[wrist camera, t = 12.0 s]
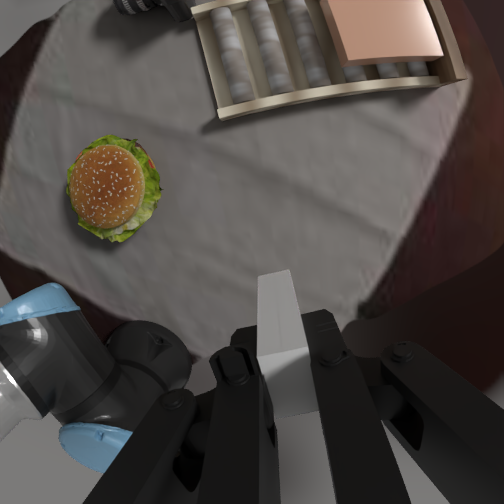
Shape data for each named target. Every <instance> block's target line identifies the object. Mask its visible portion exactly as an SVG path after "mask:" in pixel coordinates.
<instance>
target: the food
mask: <svg viewBox="0 0 504 504" xmlns="http://www.w3.org/2000/svg"><path fill="white" fill-rule="evenodd" d="M137 140H138V139H133V140H129V139H121V138H119V137H117V136H114V135H106V136H104V137H102V138H99V139H97V140H96V141H94V142H92V143H91V144H90V145H89V146H88V147H87V148H85V149H84V150H83V151H82V152H81V153H80V154H79V155H78V157H77V158H76V161H75V163H74V164H73V165H72V166H71V167H70V168H69V169H68V172H67V176H68V185H67V189H66V192H67V195H68V196H69V197H70V199H71V200H70V203H71V204H72V210H73V211H75V212H76V213H77V214H78V220H79V223H78V224H79V225H80V226H82V227H83V228H85V229H86V230H88V231H90V232H92V233H94V234H95V235H96V236H99V237H100V238H102V239H109V240H110V242H114V241H119V242H123V241H125V240H126V239H127V238H129V237H130V236H131V235H133V234H134V233H135V232H136V231H137V230H138V229H139V228H140V227H141V226H142V225H143V223H144V222H145V221H146V220H148V219H149V218H150V217H151V215H152V213H153V211H154V210H155V209H156V208H157V202H158V199H160V197H161V192H160V191H161V190H164V189H161V188H160V186H159V181H160V177H159V174H158V172H157V171H156V169H155V165H154V163H153V161H152V160H151V158H150V157H149V156H148V155H147V153H146V151H145V150H144V149H143V148H142V147H141V145H140V144H138V143H136V142H135V141H137Z"/></svg>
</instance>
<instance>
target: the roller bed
mask: <svg viewBox="0 0 504 504" xmlns="http://www.w3.org/2000/svg"><path fill="white" fill-rule="evenodd" d="M423 1H424V3H425V5H426V8H427V10H428V13H429V15H430V18H431V20H432V23H433V25H434V28H435V31H436V33H437V36H438V39H439V42H440V45H441V48H442V51H443V54H444V56H442V57H440V58H438V59H436V60H434V61H422V62H397V63H382V64H370V65H359V66H350V67H342V68H341V65H340V61H339V58H338V55H337V52H336V49H335V46H334V42H333V39H332V36H331V34H330V31H329V28H328V25H327V22H326V19H325V16H324V14H323V11H322V8H321V6H320V0H217V1H213V2H209V3H205V4H202V5H198V6H195V7H191V11H192V15H193V17H194V19H195V21H196V24H197V27H198V31H199V35H200V39H201V43H202V47H203V51H204V54H205V58H206V62H207V66H208V70H209V74H210V78H211V81H212V85H213V89H214V93H215V97H216V101H217V105H218V108H219V109H217V112H218V116H219V119H220V120H221V121H224V120H228V119H232V118H236V117H240V116H244V115H248V114H252V113H257V112H261V111H265V110H270V109H275V108H279V107H284V106H289V105H294V104H299V103H305V102H310V101H316V100H322V99H328V98H334V97H341V96H347V95H355V94H362V93H371V92H379V91H389V90H400V89H412V88H428V87H442V86H445V85H448V84H451V83H455V82H458V81H462V80H465V79H468V78H467V75H466V71H465V68H464V64H463V61H462V58H461V54H460V51H459V48H458V45H457V42H456V39H455V37H454V34H453V31H452V28H451V26H450V23H449V20H448V18H447V15H446V13H445V10H444V8H443V6H442V3H441V1H440V0H423Z"/></svg>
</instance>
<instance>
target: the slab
mask: <svg viewBox="0 0 504 504" xmlns="http://www.w3.org/2000/svg"><path fill="white" fill-rule="evenodd" d="M320 6H321V8H322V11H323V14H324V16H325V19H326V22H327V25H328V28H329V31H330V34H331V36H332V39H333V42H334V46H335V49H336V52H337V55H338V58H339V61H340V65H341V68H342V67H350V66H359V65H370V64H382V63H397V62H422V61H434V60H436V59H438V58H440V57H442V56H444V54H443V51H442V48H441V45H440V42H439V39H438V36H437V33H436V31H435V28H434V25H433V23H432V20H431V18H430V15H429V13H428V10H427V8H426V5H425V3H424V1H423V0H320Z"/></svg>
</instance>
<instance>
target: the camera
mask: <svg viewBox="0 0 504 504" xmlns="http://www.w3.org/2000/svg"><path fill="white" fill-rule="evenodd" d="M113 1H114V4H115V6H116V8H117V10H118V11H119V12H120V13H121V14H123V15H124V14H127V15H130V14H136V13H138V12H140V11H147V10H149V9H150V8H153V7H156V6H157V5H161V6H165V7H166V8H167V9H168V11H169V12H170V14H171V15H172V17H173V18H174V20H175V21H179V22H181V21H184V20H188V19H190V18H191V17H193V15H192V11H191V7H195V6H196V3H195V0H113Z"/></svg>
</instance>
